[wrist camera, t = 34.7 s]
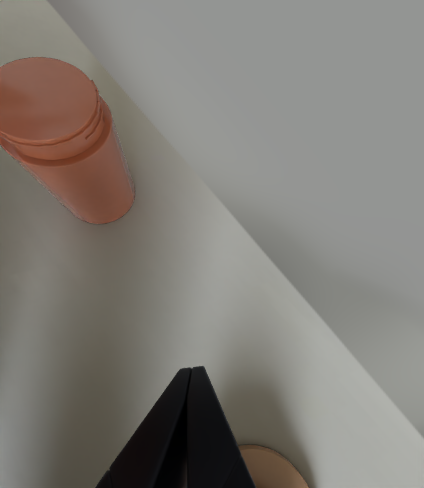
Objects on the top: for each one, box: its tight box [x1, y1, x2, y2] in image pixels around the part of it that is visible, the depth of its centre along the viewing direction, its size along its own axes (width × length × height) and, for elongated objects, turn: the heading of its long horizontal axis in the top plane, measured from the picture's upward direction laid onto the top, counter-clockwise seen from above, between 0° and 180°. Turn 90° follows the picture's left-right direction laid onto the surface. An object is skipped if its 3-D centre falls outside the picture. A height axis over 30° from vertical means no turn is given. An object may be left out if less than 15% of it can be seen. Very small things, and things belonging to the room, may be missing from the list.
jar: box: [0, 57, 135, 224], centre depth 16 cm, size 6×6×10 cm
